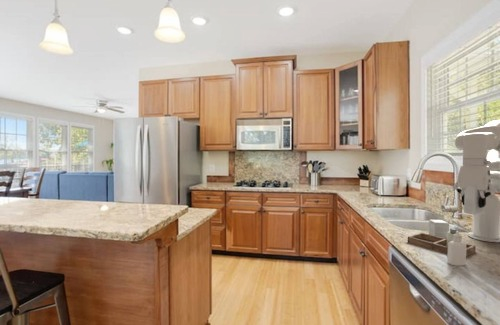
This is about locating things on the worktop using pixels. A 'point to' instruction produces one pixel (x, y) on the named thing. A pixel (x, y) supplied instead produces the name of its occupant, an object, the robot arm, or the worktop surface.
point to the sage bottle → (450, 235)
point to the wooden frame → (435, 243)
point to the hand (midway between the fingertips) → (473, 205)
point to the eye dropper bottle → (456, 251)
